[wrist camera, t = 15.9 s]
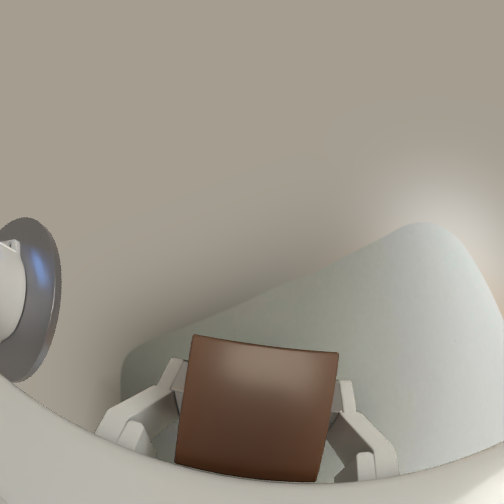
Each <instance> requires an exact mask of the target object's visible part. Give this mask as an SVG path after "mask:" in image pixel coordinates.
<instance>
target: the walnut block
mask: <svg viewBox="0 0 504 504" xmlns="http://www.w3.org/2000/svg"><path fill="white" fill-rule="evenodd" d="M338 360H339V353H337V352H324V351H311V350H300V349H290V348H281V347H273V346H265V345H257V344H250V343H243V342H236V341H230V340H224V339H218V338H212V337H207V336H201V335H196V334H194V335H193V336H192V342H191V348H190V354H189V360H188V366H187V372H186V378H185V385H184V391H183V398H182V405H181V412H180V419H179V427H178V434H177V442H176V451H175V459H174V462H175V463H177V464H180V465H184V466H188V467H192V468H196V469H200V470H205V471H209V472H214V473H219V474H225V475H231V476H237V477H244V478H252V479H260V480H271V481H286V482H316V480H317V476H318V472H319V468H320V464H321V459H322V455H323V450H324V446H325V441H326V436H327V431H328V426H329V420H330V415H331V409H332V403H333V397H334V390H335V383H336V376H337V368H338Z"/></svg>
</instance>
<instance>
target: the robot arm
mask: <svg viewBox="0 0 504 504" xmlns="http://www.w3.org/2000/svg"><path fill="white" fill-rule="evenodd" d="M25 293H26V275H25V269H24V265H23V262H22V260H21V256H20V242H19V241H18V240H15V239H13V240H8V241H2V242H0V343H1V342H2V341H3V340H5V339H6V338H8V337H9V336H10V335H11V334H12V333H13V331H14V330H15V328H16V326H17V324H18V322H19V320H20V317H21V314H22V310H23V306H24V301H25ZM187 366H188V361H187V360H183V359H179V358H175V357H172V358H171V359H170V361H169V363H168V365H167V367H166V369H165V371H164V373H163V374H162V376H161V378H160V380H159V382H158V384H157V386H155V385H153V386H151V387H149V388H147V389H145V390H144V391H142V392H140V393H138V394H136V395H134V396H133V397H131V398H129V399H127V400H125V401H123V402H121V403H119V404H117V405H115V406H114V407H112V408H110V409H108V410H107V412H106V413H105V415H104V417H103V418H102V420H101V422H100V424H99V426H98V427H97V429H96V431H95V432H94V433H91V432H89V431H88V430H86V429H84V428H82V427H80V426H78V425H76V424H74V423H72V422H71V421H69V420H67V419H65V418H63V417H62V416H60V415H58V414H57V413H55V412H53V411H52V410H50V409H49V408H47V407H45V406H44V405H42V404H41V403H39V402H38V401H36V400H35V399H33V398H32V397H30V396H29V395H28V394H26V393H25V392H23V391H22V390H21V389H19V388H18V387H17V386H15V385H14V384H13V383H11V382H10V381H9V380H8V379H6V378H5V377H4V376H3V375H1V374H0V504H504V441H503V442H500V443H498V444H496V445H494V446H492V447H489V448H487V449H485V450H482V451H480V452H477V453H475V454H472V455H470V456H467V457H464V458H461V459H459V460H456V461H453V462H449V463H446V464H443V465H440V466H436V467H433V468H429V469H425V470H421V471H417V472H412V473H408V474H403V475H400V473H399V467H398V461H397V455H396V450H395V447H394V446H393V445H392V444H391V443H390V442H389V441H388V440H387V439H386V438H385V437H384V436H383V435H382V434H381V433H380V432H379V431H378V430H377V429H376V428H375V427H374V426H373V425H372V424H371V423H370V422H369V421H368V420H367V419H366V418H365V417H364V416H363V415H362V414H361V413H360V412H357V410H356V404H355V398H354V392H353V386H352V382H351V380H336V383H335V390H334V397H333V403H332V409H331V415H330V420H329V426H328V431H327V436H326V439H327V440H328V442H329V443H330V445H331V446H332V448H333V449H334V451H335V452H336V454H337V455H338V457H339V458H340V460H341V461H342V462H343V464H344V465H345V467H344V468H343V469H342V470H341V471H340V472H339V473H338V474H337V475H336V476H335V477H334V483H282V482H268V481H258V480H249V479H242V478H235V477H229V476H223V475H218V474H213V473H208V472H203V471H199V470H195V469H191V468H187V467H183V466H179V465H176V464H172V463H169V462H165V461H162V460H159V459H156V458H155V457H156V454H157V452H156V450H155V449H154V447H153V445H152V443H151V441H150V440H151V439H152V438H153V437H155V436H156V435H157V434H159V433H160V432H161V431H163V430H164V429H165V428H167V427H168V426H169V425H171V424H172V423H173V422H175V421H176V420H177V419H178V418H180V417H179V416H180V412H181V405H182V398H183V391H184V385H185V378H186V372H187Z"/></svg>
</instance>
